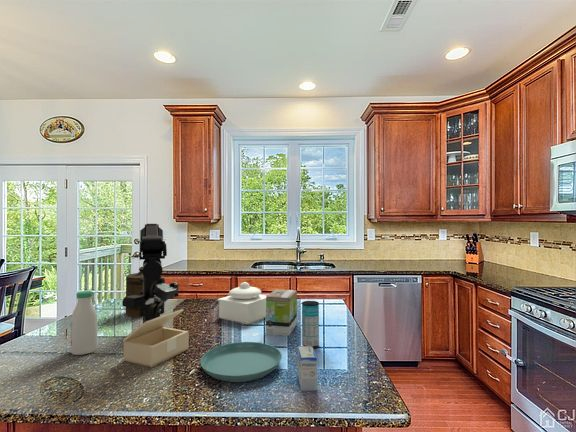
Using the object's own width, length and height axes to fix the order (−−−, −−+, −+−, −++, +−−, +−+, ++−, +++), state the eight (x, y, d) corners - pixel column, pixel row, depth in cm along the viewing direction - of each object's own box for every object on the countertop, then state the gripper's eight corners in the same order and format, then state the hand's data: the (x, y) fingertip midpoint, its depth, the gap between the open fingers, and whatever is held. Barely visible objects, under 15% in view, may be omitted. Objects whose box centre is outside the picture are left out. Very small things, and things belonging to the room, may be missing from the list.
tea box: (290, 336, 127) (290, 297, 127) (264, 334, 129) (264, 296, 129) (297, 324, 142) (297, 289, 142) (274, 322, 144) (274, 288, 144)
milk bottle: (102, 348, 116) (102, 290, 116) (82, 357, 109) (82, 295, 109) (86, 345, 118) (86, 288, 119) (65, 354, 111) (65, 293, 111)
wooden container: (151, 316, 154) (151, 268, 154) (119, 316, 154) (119, 268, 154) (163, 308, 169) (163, 264, 169) (134, 308, 169) (134, 264, 169)
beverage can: (320, 343, 120) (320, 301, 120) (317, 349, 114) (317, 305, 114) (304, 341, 121) (303, 300, 121) (300, 347, 116) (300, 304, 116)
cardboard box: (123, 360, 106) (123, 341, 106) (162, 343, 120) (162, 326, 120) (152, 367, 100) (152, 347, 101) (188, 349, 115) (188, 331, 115)
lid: (123, 341, 106) (122, 339, 106) (162, 326, 120) (161, 324, 120) (146, 323, 102) (145, 321, 102) (183, 310, 116) (182, 308, 116)
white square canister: (272, 314, 157) (272, 280, 157) (247, 325, 142) (247, 287, 142) (243, 309, 166) (243, 277, 167) (217, 318, 151) (217, 283, 151)
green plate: (207, 352, 112) (207, 342, 113) (279, 350, 114) (279, 340, 114) (192, 388, 88) (192, 376, 88) (284, 385, 90) (284, 372, 90)
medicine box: (297, 377, 94) (297, 346, 94) (313, 376, 94) (312, 345, 94) (300, 391, 86) (300, 357, 86) (317, 390, 87) (317, 357, 87)
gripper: (147, 281, 100) (147, 334, 99) (190, 273, 117) (190, 318, 116) (121, 279, 104) (121, 329, 104) (166, 271, 121) (166, 314, 121)
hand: (152, 322), depth 111 cm, fingers closed
